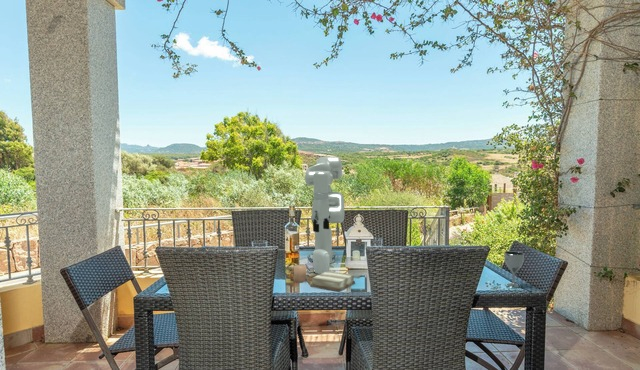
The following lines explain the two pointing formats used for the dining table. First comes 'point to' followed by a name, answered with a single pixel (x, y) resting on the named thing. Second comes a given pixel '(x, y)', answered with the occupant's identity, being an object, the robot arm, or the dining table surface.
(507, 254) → the wine glass
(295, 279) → the tan short cylinder
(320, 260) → the grey rounded block
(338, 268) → the dining table surface
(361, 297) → the dining table surface
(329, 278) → the beige ridged block
